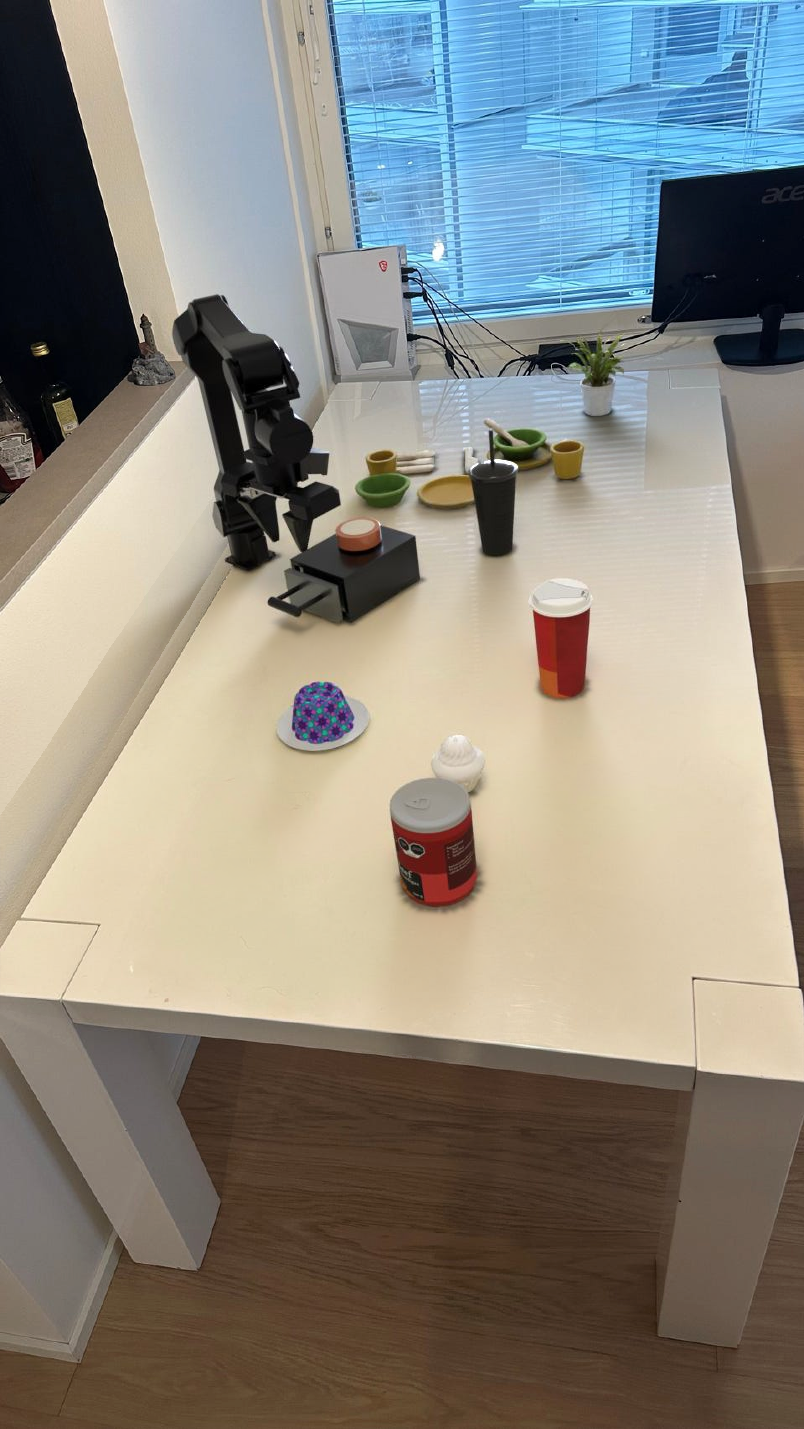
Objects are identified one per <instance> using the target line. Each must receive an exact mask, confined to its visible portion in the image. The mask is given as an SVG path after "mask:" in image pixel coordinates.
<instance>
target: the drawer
mask: <svg viewBox="0 0 804 1429" xmlns="http://www.w3.org/2000/svg"><path fill="white" fill-rule="evenodd" d="M283 573H284V578H285V583H286V588H287V591H285V592H283V593H281V594H280V595H278V596H276V597H275V596H270V597H269V598H268V599H267V606H268V607H270V608H273V609H275V610H278V611H280V612H283V613H285V614H288V615H290V616H292V617H294V618H300V617H301V616H302V614H303V611H306V612H308V613H311V614H314V615H317V616H319V617H322V618H324V619H327V620H328V621H331V622H335V623H337V624H338V623H340V622H342V621H344V620H343V616H342V611H343V612H346V611H345V605H344V599H343V593H342V587H341V582H340V581H337V580H335V579H332V578H329V577H326V576H324V575H321V574H318V573H315V572H313V571H310V570H307V569H304V568H302V567H300V571H297V570H295V569H292V567H288V568H286V569H284V570H283ZM287 598H288V599H289V602H287V601H286V600H285V599H287Z"/></svg>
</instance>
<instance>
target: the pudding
mask: <svg viewBox="0 0 804 1429" xmlns="http://www.w3.org/2000/svg"><path fill="white" fill-rule="evenodd" d="M369 722H370V712H369V709H368V707H367V706H366V705H365V703H363V702H362V701H360V700H359V699H357V698H355V697H352V696H350V695H345V694H344V692H343V691H342V689H341V688H340V687H339V686H338V685H335V684H334V683H333V682H331V681H322V682H321V681H313V682H311V683H310V684H305V685H303V686H301V688H300V689H299V690H298V692H297V693H296V694H295V695H294V698H293V704H292V705H291V706H290V707H288V708H287V709H286V710H285V711H284V712H282V714H280V717H279V718H278V720H277V723H276V728H275V729H276V734H277V736H278V738H279V740H281V741H282V742H283V744H286V745H287V746H289V747H291V748H294V749H297V750H302V751H311V752H312V751H313V752H314V751H324V750H325V751H326V750H330V749H334V748H337V747H341V746H343V745H346V744H348V743H350V742H352V741H353V740H355V739H356V738H358V737H359V736H360V735H361V734H362V733H363V732H364V731H365V730H366V729H367V727H368V725H369Z"/></svg>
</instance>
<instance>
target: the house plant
mask: <svg viewBox="0 0 804 1429" xmlns="http://www.w3.org/2000/svg"><path fill="white" fill-rule="evenodd" d="M602 331H603V329H600V331H599V333H598V334H597V340H596V347H595V353H592V352H591V350H590V346H589V343H588V342H587V340H586V339H585V337H583V336H581V335H578V334H577V335H578V336H577V337H576V339H575V341H576V343H577V344H579V347H580V348H575V349H574V351H578V352H579V353H578V352H574V353H572V355H573V354H574V355H576V356H577V357H579V359H580V360H581V362H582V363H583V365H584V366H583V365H582V364H580V363H578V362H572V363H570V364H569V365H568V368H572V369H571V371H572V370H573V371H574V370H577V372H579V371H581V372H582V373H583V374H584V375H585V378H583V379H581V380H580V382H579V385H580V390H581V396H582V403H583V408H584V413H585V414H586V415H587V416H591V417H601V416H605V415H606V416H607V415H608V414H610V412H611V410H612V405H613V398H614V393H615V386H616V378H615V377H616V374H617V372H616V371H615V370H617V371H619V372H621V373H622V374H623V375H625V370H624V368H623V367H621V366H616V365H618V364H620V363H622V362H623V363H624V362H625V361H624V360H623V356H616V357H612V356H613V354H614V353H615V348H616V347H617V346H618V344H619V342H620V340H621V338H622V337H623V336H624V335H625V334H626V333H628V332H624V333H621V334H620V335H617V337H616V338H615V339H614V340H613V341H612V343H611V344H610V345H609V347H608V348H607V350H604V351H603V347H604V346H605V345H606V343H607V342H608V341H609V340H610V339H611V338H612V337H613V335H611V336H610V337H608V338H607V339H606V340H605V342H604V343H603V340H602V337H601V334H602ZM578 337H580V338H582V339H583V341H584V343H583V341H582V340H581V339H580V338H578ZM557 341H559V342H566V343H569V344H570V345H573V346H574V344H573V343H572V342H570V341H567V340H563V339H557ZM626 344H627V342H625V343H622V344H621V345H619V346H618V347H617V349H619V348H620V347H622V346H623V345H626ZM580 351H581V352H583V353H584V354H585V356H586V357H584V356H583V354H582V353H581V352H580ZM586 359H587V360H586ZM610 375H613V376H614V377H612V376H610Z"/></svg>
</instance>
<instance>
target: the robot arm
mask: <svg viewBox="0 0 804 1429" xmlns="http://www.w3.org/2000/svg"><path fill="white" fill-rule="evenodd" d="M171 335H172V336H171V337H172V341H173V344H174V347H175V350H176V353H177V354H178V355H179V356H180V357H181V360H182V363H183V364H184V365H185V367H186V368H188V370H189V371H190V372H191V373H192V374H193V375H194V376H195V377H196V378H197V381H198V382H197V383H198V385H199V390H200V393H201V399H202V403H203V406H204V411H205V415H206V416H205V417H206V419H207V424H208V428H209V432H210V436H211V437H210V438H211V441H212V444H213V449H214V454H215V457H216V462H217V466H218V474H217V477H216V480H215V482H214V486H213V492H214V498H215V501H214V502H213V505H212V513H211V516H212V519H213V523H214V526H215V528H216V530H217V532H219V533H220V535H221V536H222V537H223V538H227V542H228V547H229V551H230V555H229V556H227V557H225V558H224V562H225V563H226V564H230V565H232V566H235V567H238V568H240V569H243V570H244V571H252V570H253V569H255V568H257V567H259V566H261V565H262V564H264V563H266V562H268V561H270V560H271V559H274V558H275V557H276V556H277V552H276V551H274V550H270V549H269V545H268V541H267V537H268V538H269V540H270V541H271V542H272V543H277V542H279V541H280V527H279V519H278V518H279V517H278V513H277V511H278V510H277V499H283V500H284V499H285V500H288V501H287V502H288V508H289V510H287V511H286V512H283V513H282V514H281V516H282V518H283V520H284V522H285V524H286V527H287V529H288V531H289V533H290V535H291V537H292V539H293V541H294V543H295V546H296V547H297V549H298V550H299V552H300V553H302V552H304V551H306V550H307V549H309V543H310V538H311V533H312V527H313V523H314V520H315V519H318V518H320V517H322V516H323V515H325V514H327V513H329V512H330V511H332V510H335V509H337V508H338V507H340V506H341V504H342V501H341V496H340V490H339V489H338V488H336V487H335V486H334V485H329V484H327V483H323V482H319V481H313V482H312V483H310V484H308V485H305V486H304V487H302V486H299V483H303V482H305V481H308V480H309V475H321V476H328V472H329V471H328V470H329V462H330V451H326V450H323V449H319V448H316V447H313V445H314V432H313V431H312V429H311V427H310V425H309V424H308V423H307V422H306V421H305V420H304V419H302V418H300V417H299V416H298V415H297V414H295V413H294V408H293V407H292V406H291V403H290V402H291V401H294V400H297V399H301V394H300V390H299V387H300V381H299V379H298V376H297V374H296V372H295V370H294V368H293V365H292V363H291V360H290V358H289V356H288V354H286V353H285V350H284V348H283V347H282V346H280V345H278V343H277V341H276V340H274V339H273V338H272V337H270V336H269V335H267V334H265V333H256V332H252V331H251V330H250V329H249V328H248V327H247V326H246V325H245V324H244V322H243V321H242V320H241V319H240V318H239V316H238V315H236V313H235V312H234V311H233V309H231V307H230V305H229V302H228V300H227V298H226V297H225V295H224V294H221V295H220V294H218V293H216V294H212V295H208V296H203V297H199V298H194V299H192V301H189V302H188V304H187V308H186V309H185V310H184V311H183V312H182V313H181V314H179V315H178V316H177V317H176V318H175V319H174V320H173V324H172V330H171ZM284 384H285V386H284ZM279 386H281V387H279ZM276 387H277V388H276ZM271 388H273V389H271ZM234 401H235V402H236V405H237V407H238V409H239V410H240V411H241V415H242V416H241V417H242V419H243V424H244V429H245V434H246V440H247V444H248V449H246V450H245V447H244V444H243V439H242V435H241V429H240V425H239V421H238V417H237V412H236V407H235V403H234ZM250 461H251V462H250Z"/></svg>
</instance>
